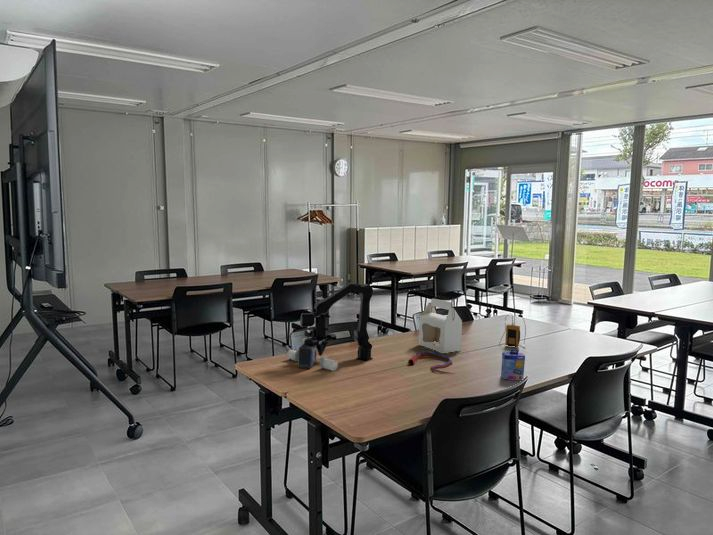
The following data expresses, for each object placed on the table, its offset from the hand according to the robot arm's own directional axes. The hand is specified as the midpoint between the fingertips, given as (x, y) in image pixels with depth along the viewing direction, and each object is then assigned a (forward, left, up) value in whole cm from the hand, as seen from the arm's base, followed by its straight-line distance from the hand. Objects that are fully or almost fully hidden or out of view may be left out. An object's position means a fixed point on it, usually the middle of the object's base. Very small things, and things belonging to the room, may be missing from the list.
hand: (320, 355), depth 266 cm
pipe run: (0, +7, -3) cm, 8 cm away
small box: (0, +9, -3) cm, 10 cm away
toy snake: (-48, -36, -4) cm, 60 cm away
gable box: (-33, -66, -4) cm, 74 cm away
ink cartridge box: (-86, -40, -4) cm, 95 cm away
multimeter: (-64, -100, -4) cm, 119 cm away
